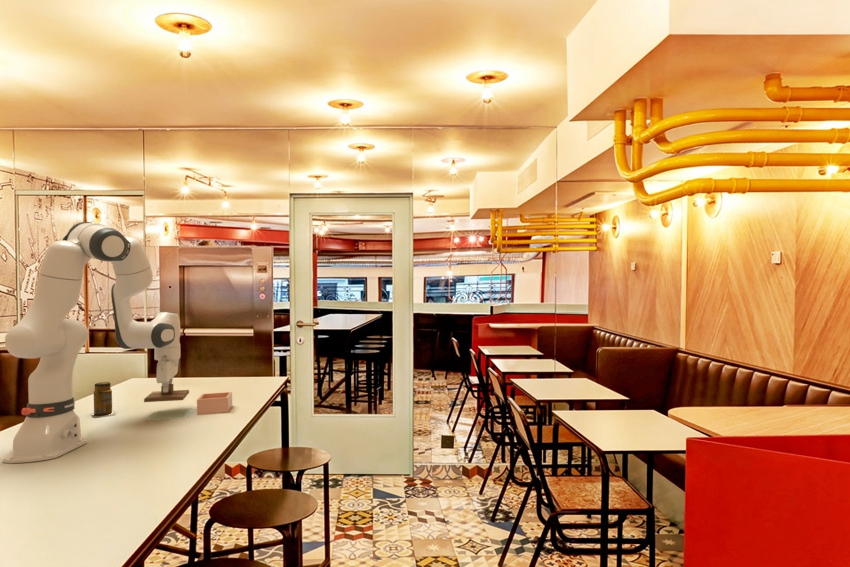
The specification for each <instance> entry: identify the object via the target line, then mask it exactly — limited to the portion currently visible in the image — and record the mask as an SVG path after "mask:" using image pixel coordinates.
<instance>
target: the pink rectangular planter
mask: <svg viewBox="0 0 850 567" xmlns="http://www.w3.org/2000/svg"><path fill="white" fill-rule="evenodd" d="M232 407H233V392H232V391H230V392H229V391H226V392H212V393H211V392H210V393H202V394H201V395H199V397H198V398H197V399H196V415H197V416H199V415H212V414H215V415H216V414H226V413H227V414H228V413H229V412H230V411H231V409H232Z"/></svg>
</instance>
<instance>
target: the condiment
mask: <svg viewBox="0 0 850 567" xmlns="http://www.w3.org/2000/svg"><path fill="white" fill-rule="evenodd" d="M111 387H112V386H111V382H110V381H103V382H97V383H95V384H94V391H93V413H92V412H91V413H90V415H91V416H92V414H94V415H93V416H92V417H93V418H104V417H108V416H116V412H114V413H113V414H111V413H112V411H113V391H112V389H111ZM109 414H110V415H109Z"/></svg>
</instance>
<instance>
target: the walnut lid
mask: <svg viewBox="0 0 850 567" xmlns="http://www.w3.org/2000/svg"><path fill="white" fill-rule="evenodd" d="M160 388H161V390H159V391H157V390H156V391H152V392H151V393H149V394H148V395H147V396H145V398H144V399H143V402H144V403H152V402H155V403H156V402H174V401H184V400H185V398H186V397H187V396H188V395H189V394H190V390H189V389H183V390H182V389H181V390H180V389H179V390H174V383H172V384H169V391H168V392H165V393H164V392H163V386H162V385H161V386H160Z"/></svg>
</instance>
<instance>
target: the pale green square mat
mask: <svg viewBox="0 0 850 567" xmlns="http://www.w3.org/2000/svg"><path fill="white" fill-rule="evenodd" d="M195 410H196V408H187V409H186V408H185V409H173V410H159V411H156V412H155V413H153V414H152V415H151V416H150V417H149V418H148V419H146V421H148V422H149V421H161V420H172V419H173V420H175V419H187V418H189V417H190V416H191V415H192V414H193V412H195Z"/></svg>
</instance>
